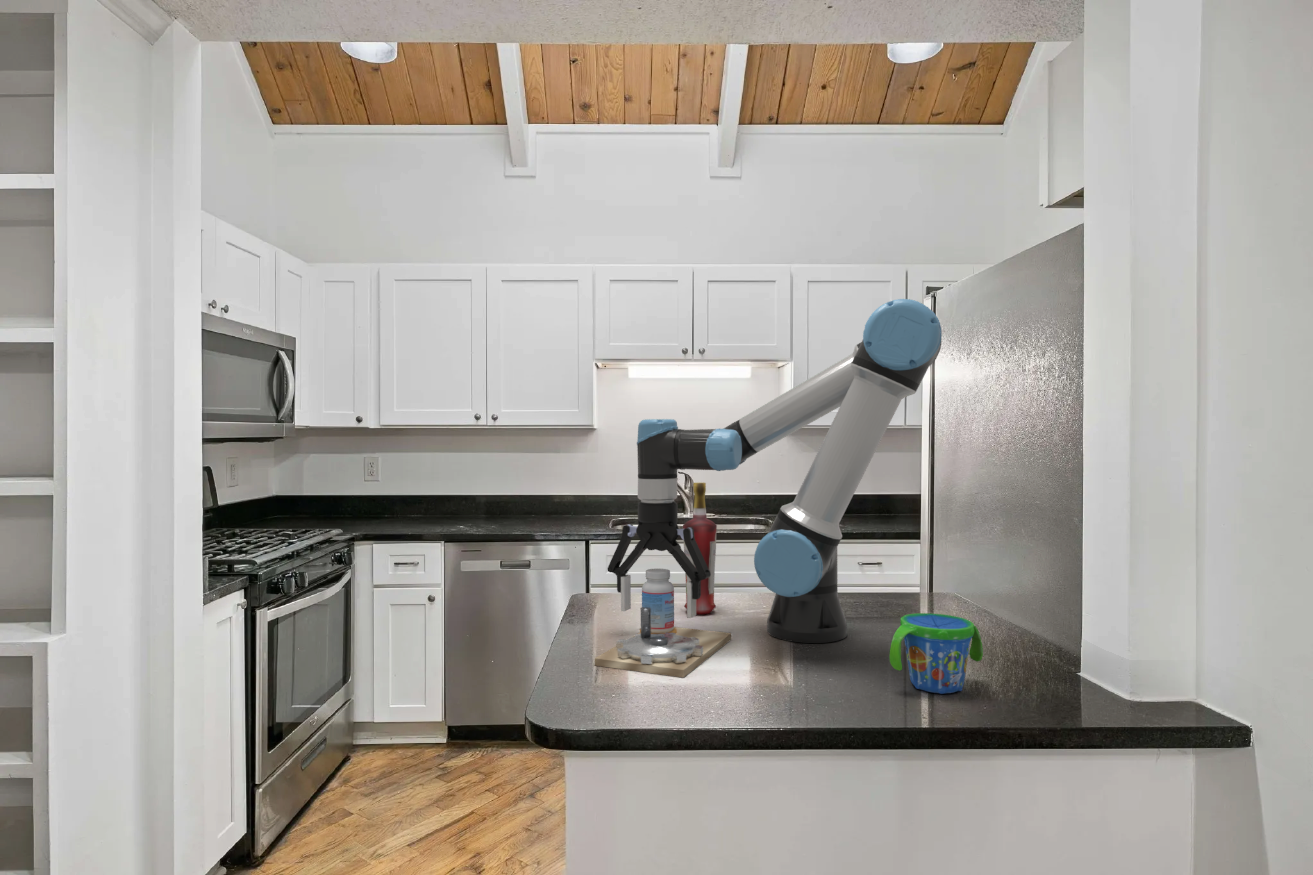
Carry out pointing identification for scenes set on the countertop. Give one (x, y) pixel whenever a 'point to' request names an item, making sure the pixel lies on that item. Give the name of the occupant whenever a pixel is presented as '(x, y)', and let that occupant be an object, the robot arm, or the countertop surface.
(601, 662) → the board
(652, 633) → the seat pad
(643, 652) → the sprocket disc
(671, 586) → the pill bottle
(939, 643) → the snack cup
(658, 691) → the countertop surface
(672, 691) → the countertop surface
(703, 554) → the liquor
